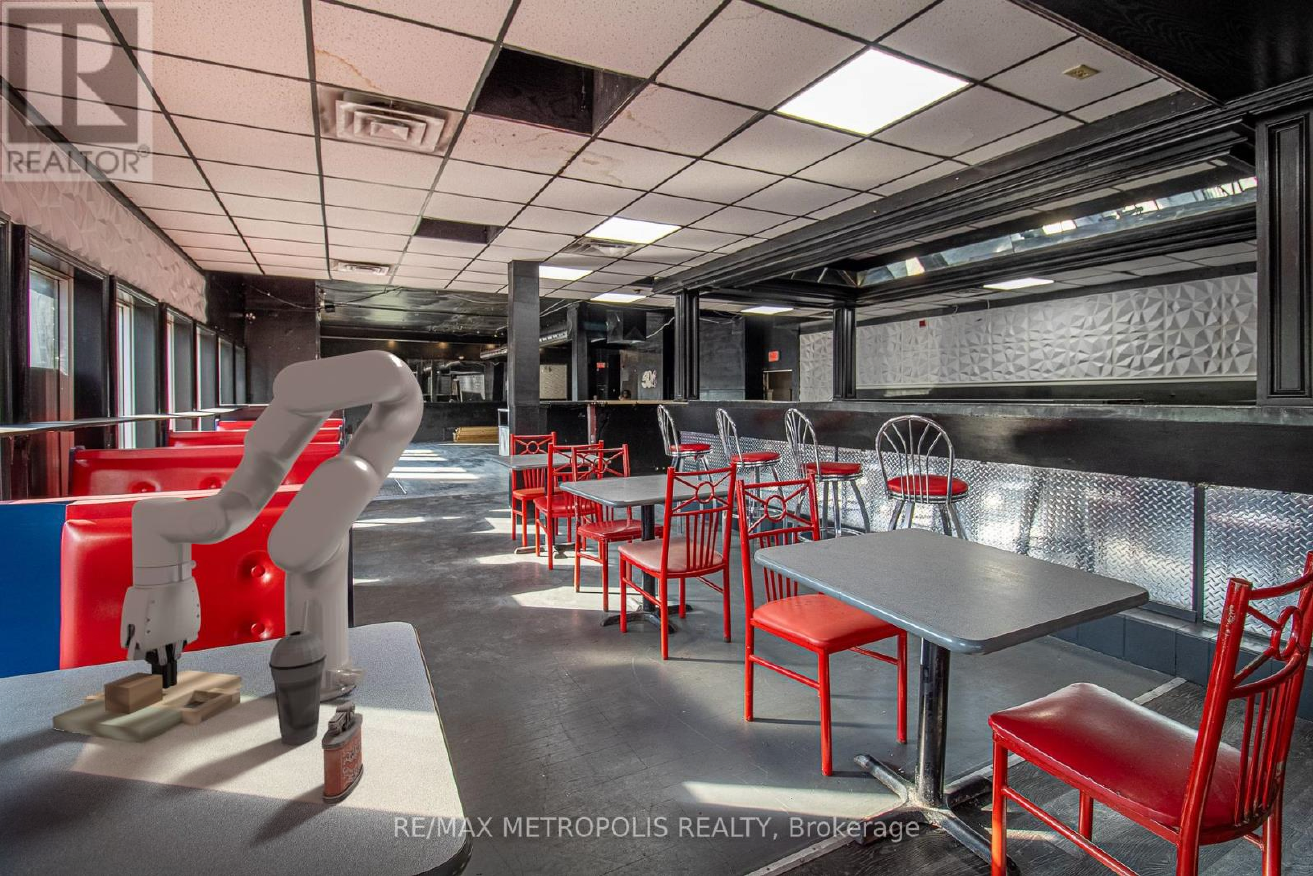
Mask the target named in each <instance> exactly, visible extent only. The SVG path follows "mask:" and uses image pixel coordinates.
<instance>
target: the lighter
mask: <svg viewBox="0 0 1313 876" xmlns="http://www.w3.org/2000/svg"><path fill="white" fill-rule="evenodd" d="M355 710H356V701H354V700H352V701H351V700H350V701H346V702H345V703H343V705H338V706H337V707H336V709H335V712H334V715H333V716H332V717H331V718H330V719H329V720H328V722H327V730H326V732H325V733H324V735H323V737H322V739H321V749H322V750H323V784H324V785H323V789H324V790H323V792H322V804H324V805H327V806H332V805H338V804H340V803H343V802H344V801H345V800H346V799H347V798H348V797H349V796H350V795H352V794H353V792H354V790H355V789H356V788H357V787H358V786H359V784H360V783H361V782H360V781H361V780H362V778H363V774H364V773H365V772H364V771H365V769H364V765H365V764H364V763H363V755H362V754H363V753H362V750H363V749H362V745H363V744H362V724H363V721H364V718H363V714H362V713H359V712H357V713H356V712H355Z"/></svg>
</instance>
